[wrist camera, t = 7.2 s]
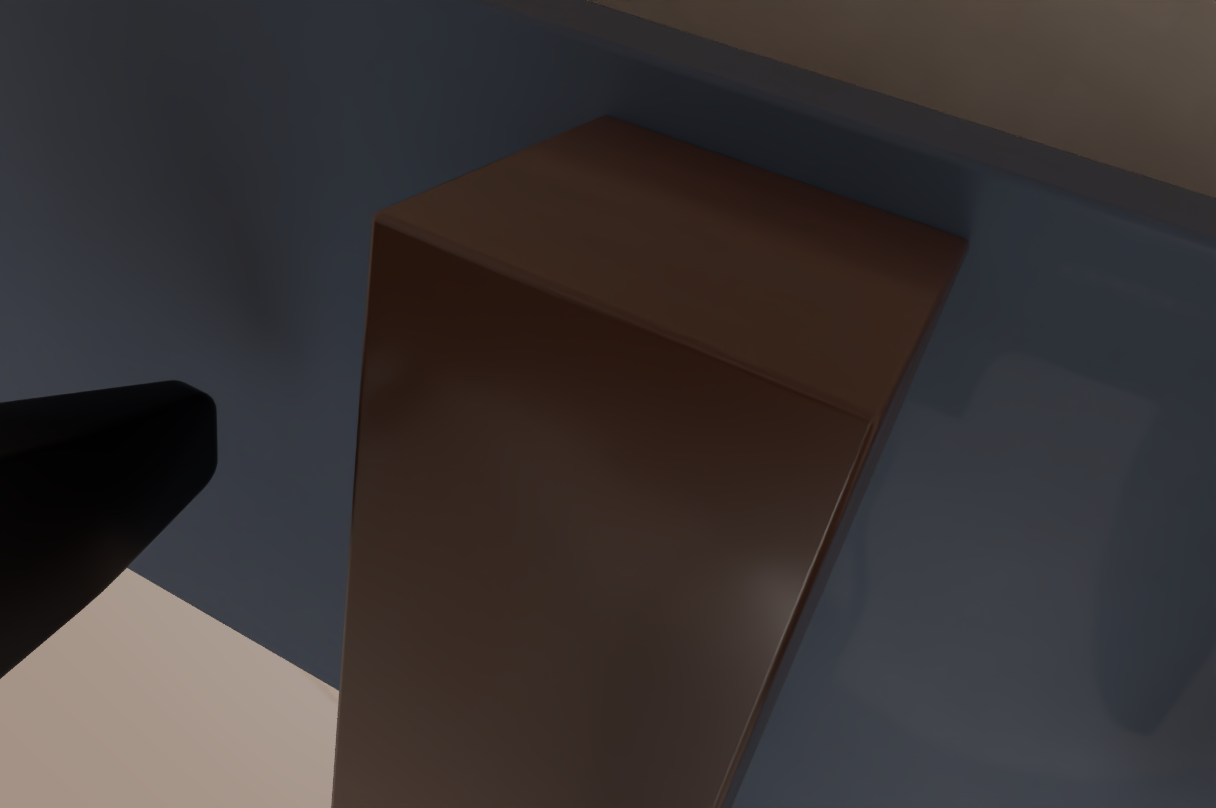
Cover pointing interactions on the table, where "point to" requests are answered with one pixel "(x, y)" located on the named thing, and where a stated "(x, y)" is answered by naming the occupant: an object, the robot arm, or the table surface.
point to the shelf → (734, 127)
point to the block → (609, 466)
